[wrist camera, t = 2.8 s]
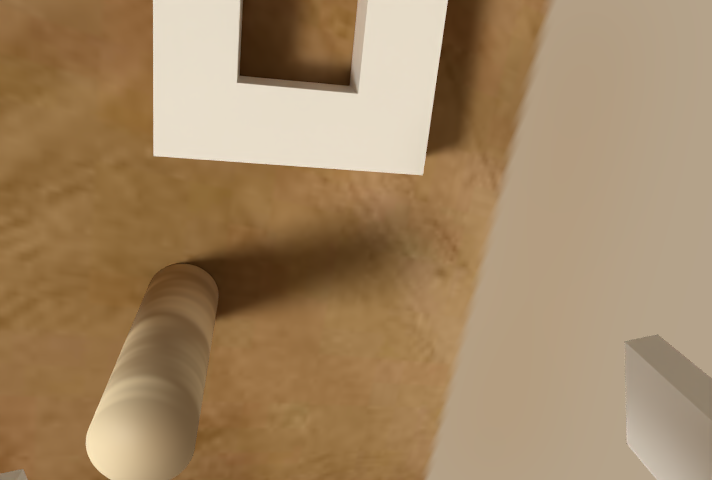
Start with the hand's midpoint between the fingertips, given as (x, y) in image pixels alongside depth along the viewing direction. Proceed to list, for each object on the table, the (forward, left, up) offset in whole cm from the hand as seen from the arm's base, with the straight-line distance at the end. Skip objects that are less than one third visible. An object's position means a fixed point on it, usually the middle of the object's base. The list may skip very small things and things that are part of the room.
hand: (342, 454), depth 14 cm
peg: (-6, -6, -20) cm, 21 cm away
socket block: (-1, +8, -20) cm, 21 cm away
